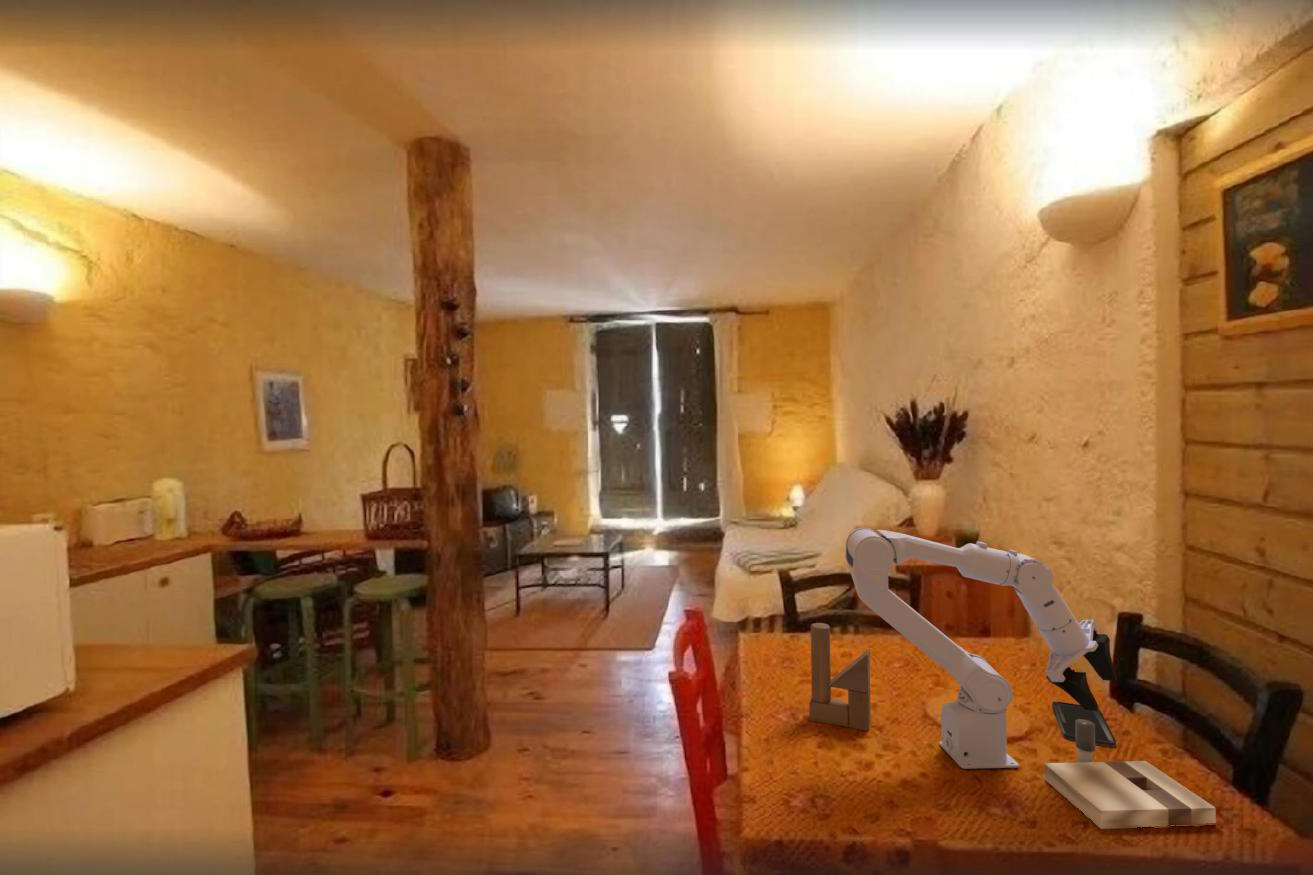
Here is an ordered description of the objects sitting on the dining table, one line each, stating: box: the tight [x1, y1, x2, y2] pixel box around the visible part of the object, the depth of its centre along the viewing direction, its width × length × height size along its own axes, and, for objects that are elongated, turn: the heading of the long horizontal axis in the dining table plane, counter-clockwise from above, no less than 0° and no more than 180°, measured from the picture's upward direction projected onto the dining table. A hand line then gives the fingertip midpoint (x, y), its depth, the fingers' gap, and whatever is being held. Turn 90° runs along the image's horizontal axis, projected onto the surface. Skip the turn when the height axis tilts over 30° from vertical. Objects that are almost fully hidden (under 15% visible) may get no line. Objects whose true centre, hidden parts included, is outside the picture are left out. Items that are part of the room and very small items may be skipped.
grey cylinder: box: [1075, 719, 1096, 763], centre depth 100 cm, size 3×3×7 cm
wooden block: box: [808, 622, 872, 732], centre depth 116 cm, size 4×11×18 cm, turn 65°
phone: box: [1051, 700, 1117, 748], centre depth 114 cm, size 8×1×15 cm
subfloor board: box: [1043, 760, 1217, 830], centre depth 90 cm, size 16×12×2 cm
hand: (1101, 693), depth 101 cm, fingers open, 7 cm apart
